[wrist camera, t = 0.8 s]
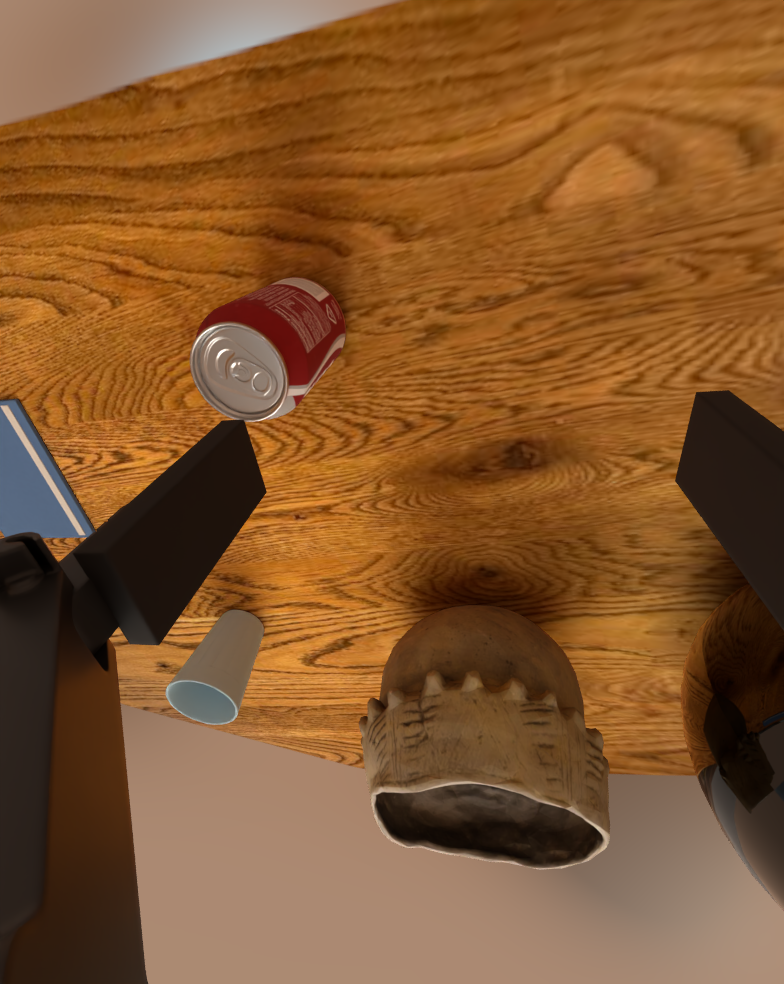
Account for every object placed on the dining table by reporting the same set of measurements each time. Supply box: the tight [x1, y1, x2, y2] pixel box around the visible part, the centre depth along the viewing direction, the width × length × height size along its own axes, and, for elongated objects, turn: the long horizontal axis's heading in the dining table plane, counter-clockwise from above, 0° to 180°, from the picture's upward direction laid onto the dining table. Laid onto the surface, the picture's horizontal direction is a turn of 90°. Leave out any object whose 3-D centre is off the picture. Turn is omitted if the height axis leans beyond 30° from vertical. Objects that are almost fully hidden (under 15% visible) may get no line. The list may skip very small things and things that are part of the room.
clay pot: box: [359, 605, 610, 870], centre depth 42 cm, size 21×21×20 cm
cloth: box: [0, 399, 96, 538], centre depth 47 cm, size 16×12×1 cm
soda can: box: [190, 277, 346, 422], centre depth 30 cm, size 7×7×12 cm
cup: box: [166, 610, 264, 725], centre depth 51 cm, size 8×8×10 cm
